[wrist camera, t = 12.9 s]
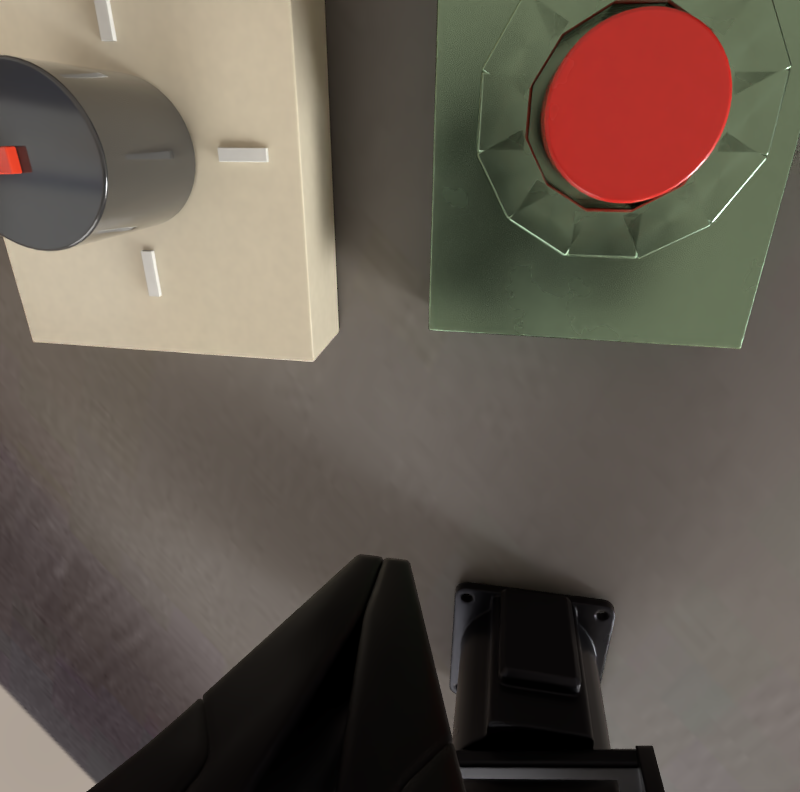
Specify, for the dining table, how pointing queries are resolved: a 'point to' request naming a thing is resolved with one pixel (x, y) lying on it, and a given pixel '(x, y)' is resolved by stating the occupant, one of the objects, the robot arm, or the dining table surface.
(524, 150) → the green button base
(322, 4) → the cream dial base plate
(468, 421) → the dining table surface
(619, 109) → the button
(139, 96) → the knob
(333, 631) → the robot arm
